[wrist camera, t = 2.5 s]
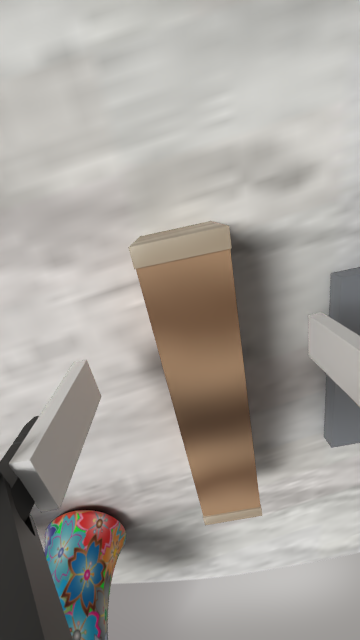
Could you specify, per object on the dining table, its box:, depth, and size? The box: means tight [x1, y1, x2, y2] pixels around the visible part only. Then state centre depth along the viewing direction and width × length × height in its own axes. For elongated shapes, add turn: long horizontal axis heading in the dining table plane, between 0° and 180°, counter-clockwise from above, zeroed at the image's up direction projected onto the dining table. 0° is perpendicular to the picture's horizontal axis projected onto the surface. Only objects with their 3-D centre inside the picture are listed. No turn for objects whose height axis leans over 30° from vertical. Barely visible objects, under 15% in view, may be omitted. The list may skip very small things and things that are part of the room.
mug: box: [44, 510, 126, 640], centre depth 23 cm, size 12×9×11 cm
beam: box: [128, 221, 262, 525], centre depth 18 cm, size 22×5×5 cm, turn 11°
